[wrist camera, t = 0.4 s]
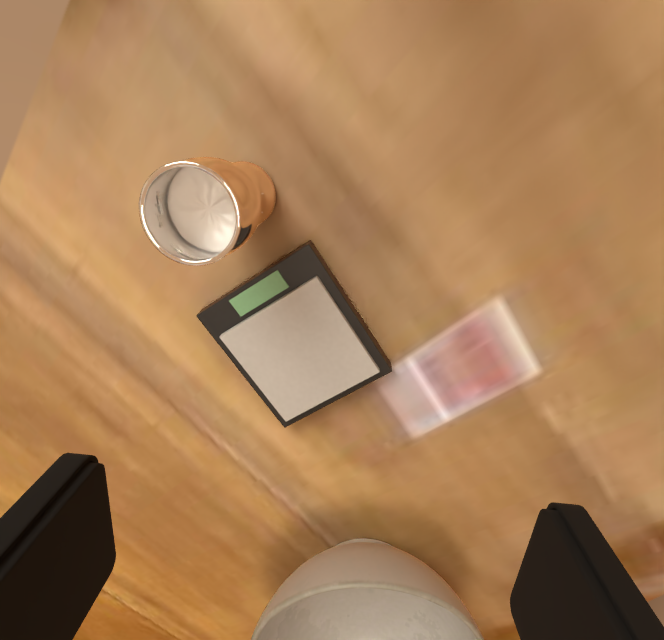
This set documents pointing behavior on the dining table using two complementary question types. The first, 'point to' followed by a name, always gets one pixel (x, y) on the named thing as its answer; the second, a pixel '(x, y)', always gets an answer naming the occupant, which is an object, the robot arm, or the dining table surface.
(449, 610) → the decorative bowl
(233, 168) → the beer glass
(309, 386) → the scale
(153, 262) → the dining table surface
